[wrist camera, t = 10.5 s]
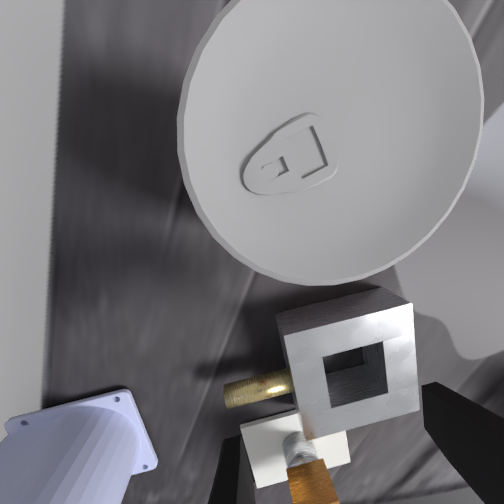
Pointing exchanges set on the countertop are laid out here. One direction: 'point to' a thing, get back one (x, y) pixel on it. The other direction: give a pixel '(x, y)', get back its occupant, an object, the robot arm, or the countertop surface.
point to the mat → (271, 453)
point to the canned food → (329, 132)
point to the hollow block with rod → (347, 380)
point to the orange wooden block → (307, 472)
